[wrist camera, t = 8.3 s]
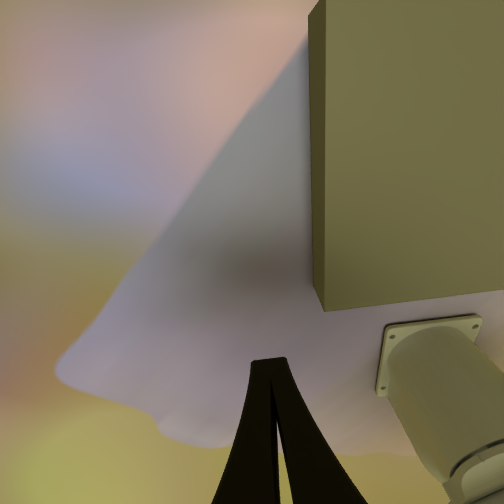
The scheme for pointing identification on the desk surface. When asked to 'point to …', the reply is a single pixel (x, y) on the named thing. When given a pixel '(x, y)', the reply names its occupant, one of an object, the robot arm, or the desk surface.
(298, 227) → the desk surface
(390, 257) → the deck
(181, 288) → the desk surface
